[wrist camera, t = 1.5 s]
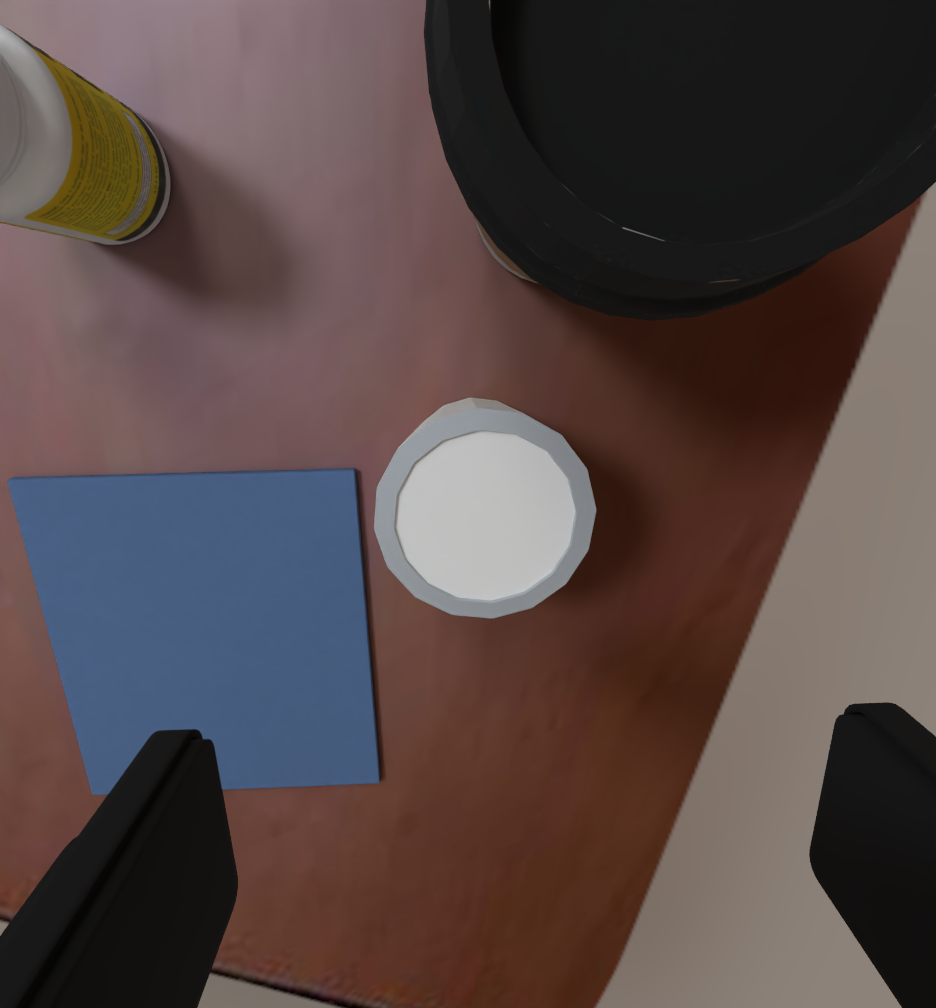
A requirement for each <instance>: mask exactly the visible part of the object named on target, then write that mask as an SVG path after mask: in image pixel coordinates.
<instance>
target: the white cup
mask: <svg viewBox="0 0 936 1008" xmlns="http://www.w3.org/2000/svg"><path fill="white" fill-rule="evenodd" d="M595 515H596V506H595V501H594V497H593V492H592V488H591V483H590V479H589V475H588V470H587V468H586V467H585V466H584V464H583V463H582V462H581V460H580V459H579V457H578V456H577V455H576V453H575V452H574V451H573V449H572V448H571V447H570V445H569V444H568V443H567V441H566V440H565V439H564V437H563V436H562V435H561V434H559V433H557V432H556V431H554V430H552V429H550V428H548V427H547V426H545V425H543V424H541V423H540V422H538V421H536V420H534V419H533V418H531V417H529V416H527V415H525V414H524V413H522V412H520V411H518V410H516V409H513V408H511V407H509V406H507V405H505V404H503V403H501V402H499V401H496V400H488V399H479V398H467V399H463V400H460V401H456V402H453V403H449V404H446V405H443V406H442V407H441V408H440V409H438V410H437V411H436V412H435V413H433V414H432V415H431V416H430V417H428V418H427V419H426V420H425V421H423V422H422V423H421V425H420V426H419V427H418V428H417V429H416V430H415V431H414V432H413V433H412V434H411V435H410V436H409V437H408V438H407V439H406V440H405V441H404V442H403V443H402V445H401V446H400V447H399V448H398V449H397V451H396V452H395V454H394V456H393V458H392V460H391V462H390V464H389V466H388V467H387V469H386V471H385V473H384V475H383V477H382V479H381V481H380V482H379V484H378V486H377V494H376V507H375V521H374V531H375V533H376V536H377V539H378V542H379V545H380V547H381V550H382V553H383V556H384V559H385V561H386V564H387V567H388V568H389V569H390V570H391V572H392V573H393V574H394V575H395V576H396V577H397V578H398V579H399V580H400V581H401V582H402V583H403V585H404V586H405V587H406V588H407V589H408V590H409V591H410V592H411V593H412V594H413V595H414V597H416V598H418V599H420V600H422V601H424V602H426V603H428V604H430V605H432V606H435V607H437V608H439V609H441V610H443V611H445V612H447V613H449V614H451V615H460V616H471V617H482V618H496V617H500V616H504V615H507V614H511V613H515V612H519V611H522V610H526V609H530V608H533V607H534V606H536V605H537V604H539V603H540V602H541V601H543V600H544V599H546V598H547V597H548V596H550V595H551V594H553V593H554V592H555V591H557V590H558V589H560V588H561V587H563V586H564V585H565V584H566V583H567V582H568V580H569V579H570V577H571V576H572V574H573V573H574V571H575V570H576V568H577V567H578V565H579V564H580V562H581V561H582V559H583V558H584V556H585V555H586V553H587V552H588V550H589V545H590V540H591V535H592V530H593V525H594V520H595Z"/></svg>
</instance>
